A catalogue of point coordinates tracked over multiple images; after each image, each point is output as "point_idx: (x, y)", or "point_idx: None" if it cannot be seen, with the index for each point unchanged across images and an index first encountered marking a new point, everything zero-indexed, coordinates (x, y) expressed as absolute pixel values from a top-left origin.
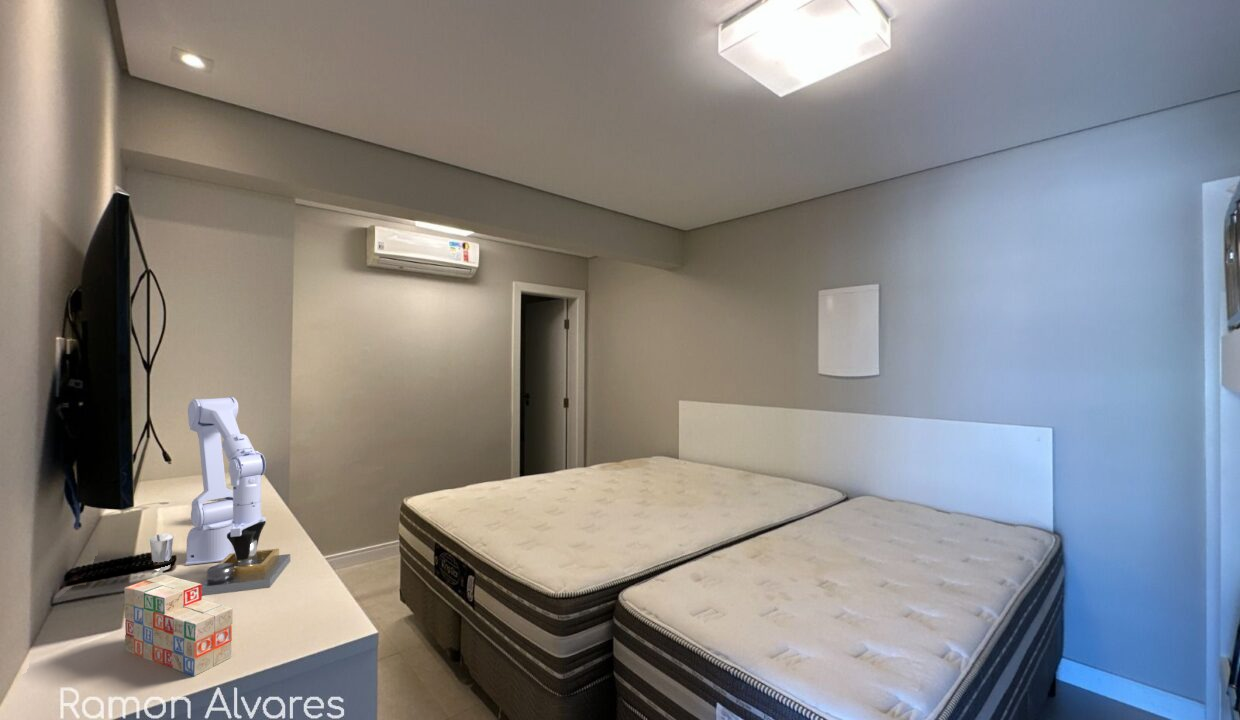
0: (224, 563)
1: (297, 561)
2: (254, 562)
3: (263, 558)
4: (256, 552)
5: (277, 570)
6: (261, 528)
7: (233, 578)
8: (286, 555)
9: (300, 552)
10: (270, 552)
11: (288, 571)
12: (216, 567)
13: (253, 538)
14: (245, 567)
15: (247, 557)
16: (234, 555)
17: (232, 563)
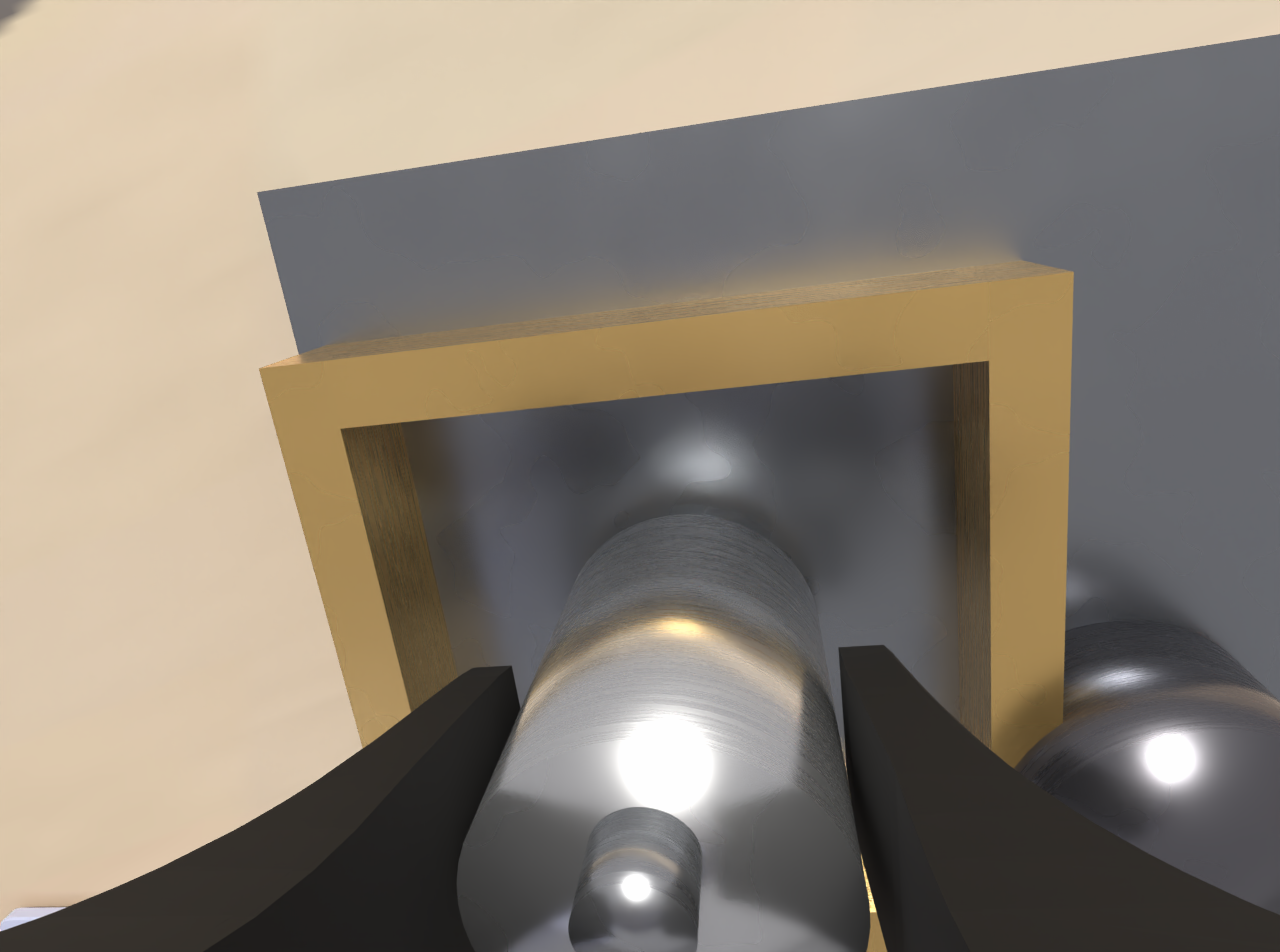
0: None
1: (324, 78)
2: (721, 542)
3: (421, 523)
4: (654, 602)
5: (947, 87)
6: (223, 919)
7: (1120, 615)
8: (320, 227)
9: (3, 193)
10: (366, 462)
11: (699, 38)
12: None
13: (421, 862)
14: (1060, 560)
15: (889, 655)
16: None
17: None
